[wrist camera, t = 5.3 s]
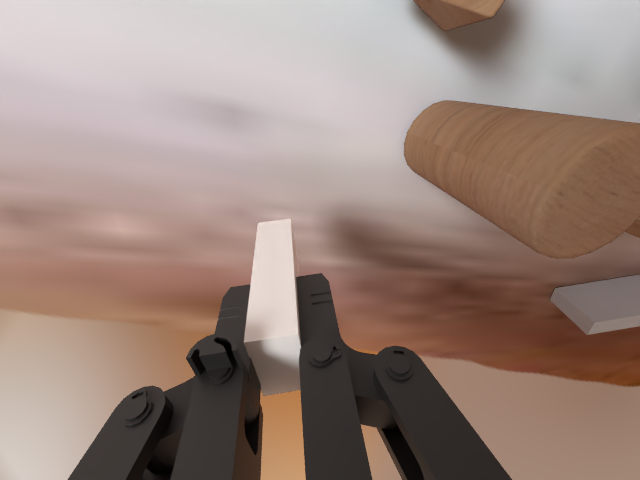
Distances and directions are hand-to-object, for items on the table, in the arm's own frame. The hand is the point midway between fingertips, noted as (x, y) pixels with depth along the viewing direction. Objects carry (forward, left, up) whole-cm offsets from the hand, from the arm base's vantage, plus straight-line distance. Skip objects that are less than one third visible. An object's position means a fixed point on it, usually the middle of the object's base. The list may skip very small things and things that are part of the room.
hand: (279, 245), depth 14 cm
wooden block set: (-3, +13, -6) cm, 14 cm away
